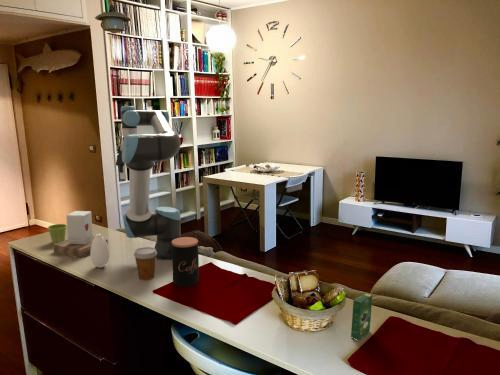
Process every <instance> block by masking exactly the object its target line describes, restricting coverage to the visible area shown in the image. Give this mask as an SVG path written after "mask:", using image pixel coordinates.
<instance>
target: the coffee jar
mask: <svg viewBox="0 0 500 375" xmlns="http://www.w3.org/2000/svg"><path fill="white" fill-rule="evenodd" d="M198 243H199V240H198V238H196V237H191V236H181V237H180V238H176V239H174V240H172V245H173V246H172V259H171V267H172V270H171V271H172V282H173V284H174V286H176V285H177V287H179V286H180V288H190V286H191V287H193V285H194V286H196V285H195V284H198V282H199V280H200V278H199V277H200V272H199V271H200V270H199V268H200V266H199V265H200V264H199V263H200V262H199V259H200V258H199V245H198Z"/></svg>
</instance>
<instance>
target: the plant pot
mask: <svg viewBox="0 0 500 375" xmlns="http://www.w3.org/2000/svg"><path fill="white" fill-rule="evenodd" d="M66 230H67V224H64V223H56V224H55V223H54V224H52V225H49V226H47V231H48V232H49V236H50V239H51V243H52V244H53V245H54V244H56V243H59V242H62V241H65V240H66Z"/></svg>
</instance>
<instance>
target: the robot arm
mask: <svg viewBox="0 0 500 375" xmlns="http://www.w3.org/2000/svg"><path fill="white" fill-rule="evenodd" d="M120 120H121V135H122V137H121V138H122V139H121V140H122V145H121V146H119V147H118V149H119V150H118V154H117V158H116V161H115V166H116V167H118V172H119V179H121V180H125V179H126V167H127V169H129V172H128V173H129V175H128V176H129V184H128V186H129V187H128V188H129V207H128V208H127V209H126V211H125V213H123V214H122V220H123V225H124V230H125V235H126V237H127V238H129V239H138V238H147V237H154V236H155V237H156V241H155V245H154V248H155V249H156V251H157V255H156V259H160V260H172V246H173V245H172V240H174V239H176V238H180V237H182V234H181V230H182V229H181V220H182V219H181V213H180V210H179V209H177V208H175V207H171V206H159V207H155V209H154V211H153V210H152V209H151V208H150V187H151V186H150V184H151V183H150V182H151V181H150V180H151V169H153V168H154V165H155V163H157V162H159V163H160V162H166V161H169V160H171V159H173V158H174V157H175V156H176V155H177V154H178V152H179V151H180V148H181V144H182V143H181V139H180V137H179V134H178V133H177V132H176V131H174V130H173V129H172V127H171V126H170V114H169V111H168V110H162V109H160V110H159V109H158V110H155V109H153V110H152V109H151V110H149V109H147V110H146V109H145V110H140V109H139V110H138V109H137V108H136V106H134V105H122V106H121V107H120ZM139 126H140V127H141V126H142V127H143V126H144V127H145V126H151V127H152V129H153V132H154V133H138V127H139ZM124 165H125V166H124Z"/></svg>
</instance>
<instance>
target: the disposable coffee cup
mask: <svg viewBox="0 0 500 375" xmlns="http://www.w3.org/2000/svg"><path fill="white" fill-rule="evenodd" d="M156 255H157V251H156V249H155V247H152V246H151V247H150V246H146V247H145V246H144V247H140V248H136V249H135V250H134V253H133V256H134V258H135V264H136V268H137V269H136V270H137V273H138V278H139V280H142V281H149V280H153V279H154V278H155V270H156V261H157V258H156Z"/></svg>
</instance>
